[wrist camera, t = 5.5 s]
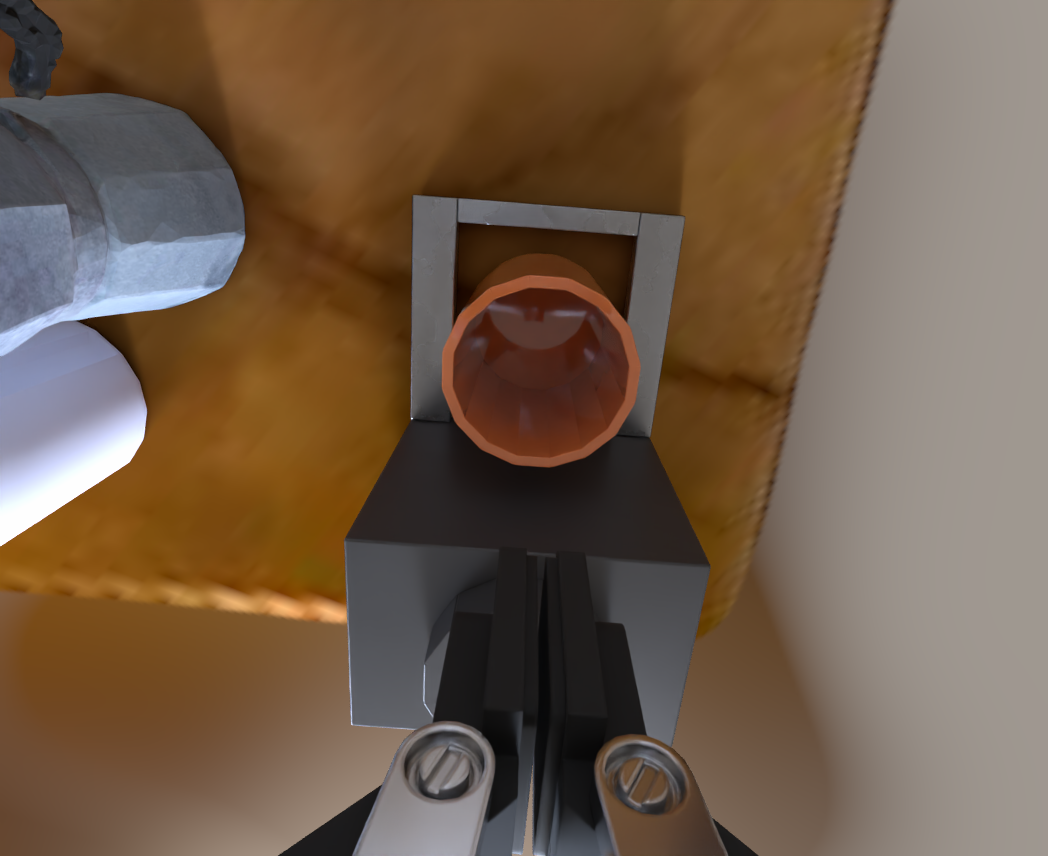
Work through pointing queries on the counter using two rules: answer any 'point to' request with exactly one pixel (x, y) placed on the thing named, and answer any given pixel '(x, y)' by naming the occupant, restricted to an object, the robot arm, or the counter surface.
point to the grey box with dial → (543, 528)
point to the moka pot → (102, 197)
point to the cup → (540, 363)
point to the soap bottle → (63, 421)
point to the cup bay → (442, 216)
